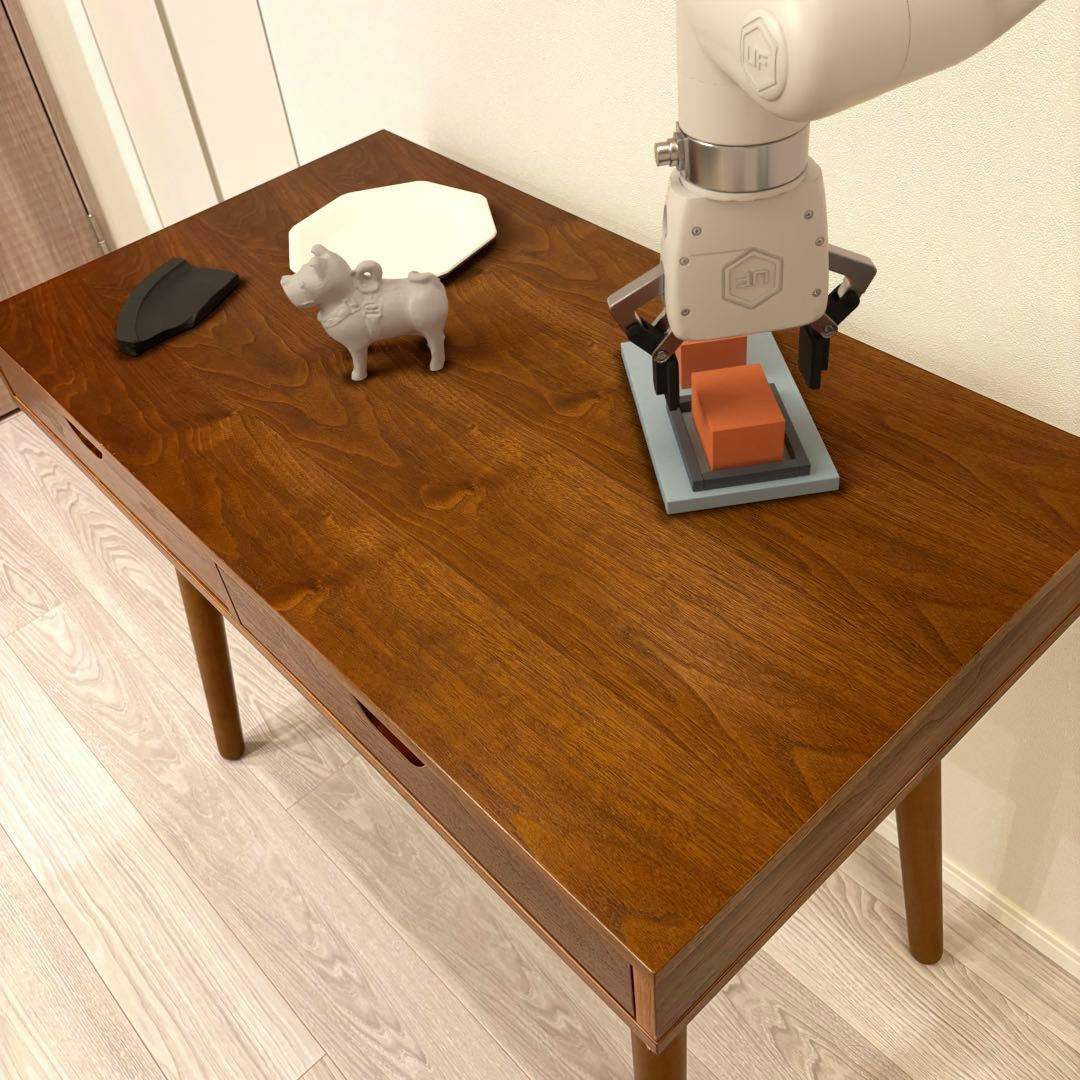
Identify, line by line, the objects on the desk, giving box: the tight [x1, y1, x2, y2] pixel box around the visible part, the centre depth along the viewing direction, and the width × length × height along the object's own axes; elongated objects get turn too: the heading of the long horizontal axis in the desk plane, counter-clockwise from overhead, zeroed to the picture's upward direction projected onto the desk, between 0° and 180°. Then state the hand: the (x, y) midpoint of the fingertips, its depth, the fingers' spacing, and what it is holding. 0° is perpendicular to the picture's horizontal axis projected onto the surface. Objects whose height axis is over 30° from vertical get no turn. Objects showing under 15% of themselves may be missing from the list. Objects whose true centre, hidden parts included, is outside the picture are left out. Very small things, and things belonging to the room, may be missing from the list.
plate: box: [288, 180, 498, 280], centre depth 110 cm, size 20×20×2 cm
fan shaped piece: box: [116, 257, 241, 357], centre depth 105 cm, size 8×14×2 cm, turn 156°
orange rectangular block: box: [691, 363, 785, 471], centre depth 81 cm, size 5×7×4 cm
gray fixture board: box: [620, 305, 841, 515], centre depth 85 cm, size 12×20×5 cm, turn 6°
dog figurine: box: [280, 244, 449, 381], centre depth 93 cm, size 5×13×11 cm, turn 96°
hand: (739, 388), depth 79 cm, fingers open, 9 cm apart
